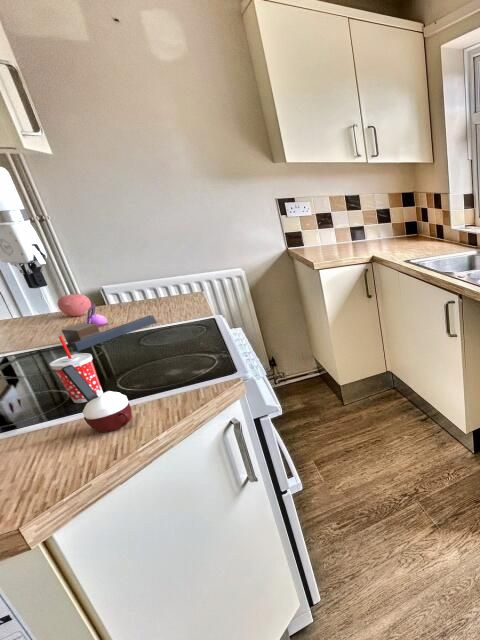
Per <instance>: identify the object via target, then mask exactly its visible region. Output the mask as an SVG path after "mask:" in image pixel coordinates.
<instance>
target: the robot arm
mask: <svg viewBox="0 0 480 640" xmlns="http://www.w3.org/2000/svg"><path fill="white" fill-rule="evenodd" d="M47 258H48V255H47V251H46V249H45V247H44V245H43V242H42V241H41V239H40V237H39V235H38V233H37V231H36V230H35V228H34V226H32V224H31V220H30V218H29V215H28V213H27V211H26V208H25V206H24V204H23V202H22V199H21V197H20V195H19V193H18V189H17V187H16V185H15V183H14V181H13V179H12V176H11V174H10V172H9V171H8V170H7V169H6V168H5V167H3V166H0V261H1V262H2V263H6V264H10V265H11V266H13V267H16V268H17V269H18V271H19V273H20V274H22V276H23V277H24V278H23V279H24V280H25V282H26V284H27V286H28V289H40V288H45V287H47V286H48V283H47V280H46V278H45V276H44V274H43V267H44V266H47V262H46V260H47Z"/></svg>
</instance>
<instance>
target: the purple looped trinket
mask: <svg viewBox="0 0 480 640" xmlns="http://www.w3.org/2000/svg"><path fill="white" fill-rule="evenodd" d="M85 315H86V316H87V317H86V320H85V324H97V326H105V324H107V325H111V323H110V322H108V319H107V318H106V317H105V316H103V315H101V314H99V313H96V302H95V303H94V302H93V303H92V304H91V307H90V308H89V310H88V311H85Z"/></svg>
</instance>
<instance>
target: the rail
mask: <svg viewBox="0 0 480 640" xmlns="http://www.w3.org/2000/svg"><path fill="white" fill-rule="evenodd" d="M155 323H157V321H156V318H155V316H154V315H147V316H144V317H140V318H137V319H135V320H131V321H129V322H126V323H123V324H121V325H118V326H115V327H111V328H109V329H106V330H104V331H101V332H100V333H98V334H95V335H92V336H89V337H86V338H83V339H80V340H77V341H75V342H72V343H70V344H71V346H70V347H71V348H72V350H73V352H79V351H83V350H86V349H88V348H91V347H94V346H96V345H99V344H102V343H105V342H107V341H110V340H112V339H116V338H118V337H121V336H123V335H126V334H129V333H131V332H134V331H137V330H140V329H142V328H146V327H148V326H151V325H153V324H155Z"/></svg>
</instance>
